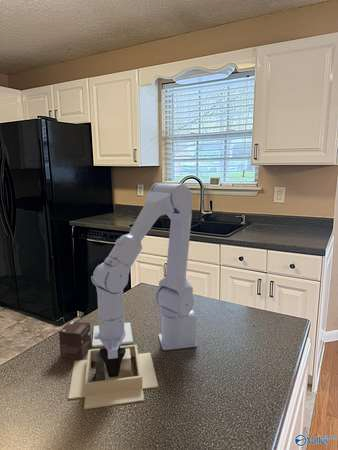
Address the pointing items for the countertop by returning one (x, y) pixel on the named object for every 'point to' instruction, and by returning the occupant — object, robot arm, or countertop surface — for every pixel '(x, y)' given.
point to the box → (75, 340)
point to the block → (102, 370)
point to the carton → (112, 382)
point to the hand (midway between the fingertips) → (113, 368)
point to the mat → (126, 339)
